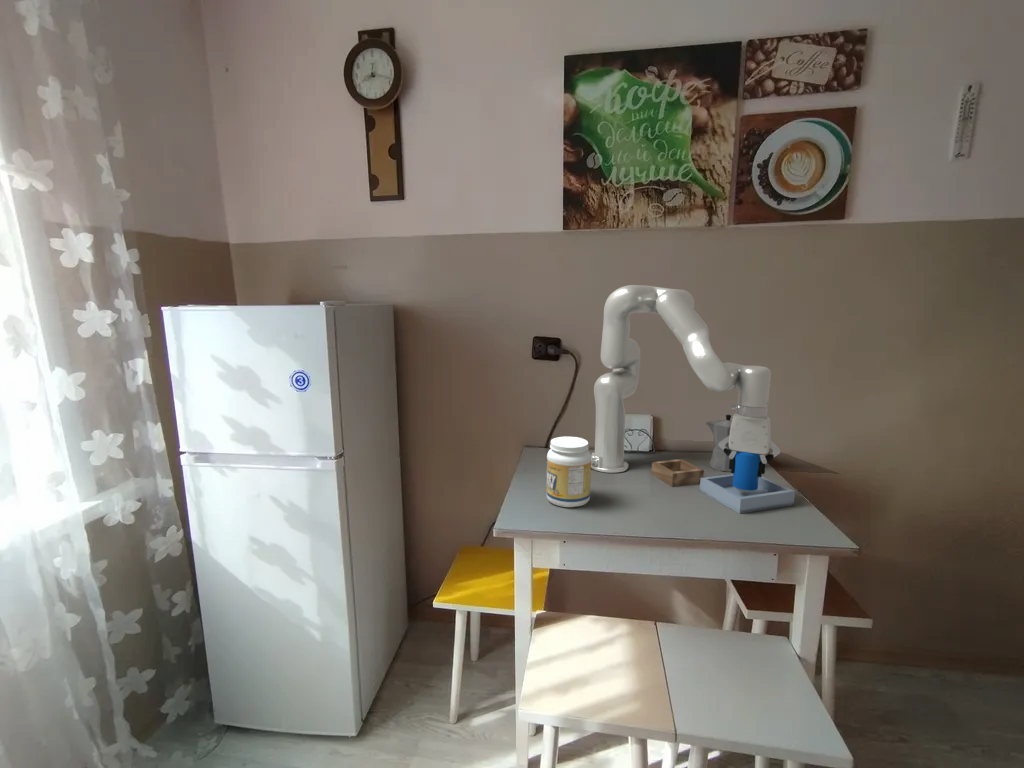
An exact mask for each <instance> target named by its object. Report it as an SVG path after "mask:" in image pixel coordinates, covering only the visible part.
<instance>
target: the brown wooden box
mask: <svg viewBox="0 0 1024 768" xmlns="http://www.w3.org/2000/svg"><path fill="white" fill-rule="evenodd" d="M653 475H654V476H653ZM704 475H705V470H704V469H703V468H701V467H699V466H697V465H694V464H692V463H691V462H688V461H687V460H685V459H683V458H678V459H669V460H662V461H653V462H652V461H651V476H653V477H654V478H657V479H659V480H660V481H662V482H664V483H665V484H666V485H669V486H670V487H679V486H680V485H681V486H686V485H687V486H688V485H695V484H700V479H701V478H704Z"/></svg>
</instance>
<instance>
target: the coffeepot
mask: <svg viewBox="0 0 1024 768" xmlns="http://www.w3.org/2000/svg"><path fill="white" fill-rule="evenodd" d="M731 418H732V415H731V414H726V415H725V419H719V420H718V419H717V420H714V421H712V420H711V421H707V422H706V423H705V424H706V425H707V426H708V427H709V429H710V431H711V433H712V435H713V442H714V443H715V444H714V446H715V447H714V448H713V450H712V455H711V458H710V462H709V466H710V468H711V467H712V468H711V469H712V470H715V469H716V470H715V471H718V470H720V471H719V472H723V471H725V472H726V473H731V469H729V461H730V459H729V457H728V456H727V455H726V454H725V452H724V451H723V450H722V449H721V448H720V446H719V445H718V443H719V442H720V441H722V440H723V439H724V438H726V437H727V436H729V435H730V428H731V423H732V419H731ZM725 445H726V447H727V448H728V449H729V442H728V443H726V444H725ZM729 450H730V451H731V449H729ZM725 472H724V473H725Z"/></svg>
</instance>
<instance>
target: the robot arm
mask: <svg viewBox="0 0 1024 768" xmlns="http://www.w3.org/2000/svg"><path fill="white" fill-rule="evenodd" d="M641 313H642V314H643V313H646V314H654V315H660V317H661V318H662V320H663V322H664V323H665V324H666V326H668V328H669V329H670V331H671V332H672V333H673V334H674V336H675V338H677V340H678V341H679V343H680V344H681V345H682V348H683V353H684V354H685V356H686V359H687V362H688V364H689V365H690V367H691V368H692V370H693V371H694V372H693V373H695V374H696V376H697V377H698V378H699V380H700V381H701V382H702V384H703V385H704V386H705V387H706V388H707V389H708V390H709V391H711V392H713V393H717V394H723V393H727V392H728V391H730V390H734V389H738V392H737V393H738V395H737V403H736V404H735V405H734V404H732V405H731V410H732V411H735V412H736V413H734V414H733V416H732V419H731V420H732V423H731V428H730V435H729V436H727V437H726V438H724V439H723V440H722V441H720V442H719V443H718V445H719V446H720V448H721V449H722V450H723V451H724V452H725V454H726V455H727V456H728V457H729V459H730V461H729V469H731V472H730V474H733V473H734V466H735V454H736V452H748V453H753V454H759V455H760V458H761V459H760V466H759V477H761V476H762V475H765V474H766V473H765V472H766V464H767V463H768V462H770V461H771V460H773V459H774V458H775V457H777V456H779V455H780V454H781V449H780V448H779V447H778V446H777V445H776V444H775V443H774V441H772V440H771V432H772V431H771V428H772V427H771V419H770V417H769V416H768V408H769V399H770V389H771V378H772V377H771V376H772V371H771V369H769V368H768V367H766V366H762V365H743V364H739V363H735V362H729V361H728V362H722V360H721V358H719V356H718V355H717V354H716V352H715V350H714V349H713V347H712V344H711V342H710V330H709V327H708V325H707V323H705V321H704V320H703V318H702V317H701V316H700V314H698V312H697V311H696V310H695V300H694V297H693V295H692V294H691V293H690V292H689V291H687V290H685V289H677V288H669V287H668V288H667V287H660V286H653V285H641V284H640V285H639V284H630V285H629V284H628V285H625V286H621V287H619V288H617V289H615V290H614V291H613V292H611V293H610V294H609V295H608V297H607V298H606V301H605V304H604V307H603V322H602V324H603V325H602V332H601V333H602V334H601V345H600V361H601V363H602V365H603V366H604V367H605V368H607V369H610V370H611V369H612V371H611V372H606V373H604V374H601V375H600V376H599V377H598V378H597V379H596V381H595V383H594V384H593V385H594V386H593V395H594V397H593V398H594V402H595V433H594V434H595V435H594V436H595V437H594V452H591V458H592V459H591V469H592V470H595V471H598V472H600V473H609V474H610V473H611V474H615V473H622V472H625V471H627V470H628V469H629V463H628V462H627V461H625V438H626V437H625V436H626V434H625V433H626V409H625V404H624V399H626V398H630V396H633V395H634V394H635V393H636V391H637V388H638V385H639V379H640V369H641V358H642V357H641V354H642V353H641V347H640V346H639V344H638V342H637V341H636V340H634V339H633V338H631V337H630V334H631V333H630V332H631V321H630V315H632V314H641ZM728 442H729V449H731V451H730V450H729V449H728V448H727V447H726V445H725V444H726V443H728ZM770 449H771V450H772V452H770ZM769 452H770V453H769ZM762 477H763V476H762Z"/></svg>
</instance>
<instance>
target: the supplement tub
mask: <svg viewBox="0 0 1024 768" xmlns="http://www.w3.org/2000/svg"><path fill="white" fill-rule="evenodd" d="M589 447H590V446H589V442H588V440H587V439H584V438H583V437H577V436H559V437H554V438H552V439H551V440H550V445H549V448H550V449H548V452H547V453H546V454H547V455H546V492H545V493H546V494H545V495H546V499H547V500H548V502H550V503H551V504H553V505H555V506H557V507H562V508H576V507H582V506H584V505H586V504H587V503H588V502H589V501H590V498H591V483H592V482H591V481H592V480H591V479H592V478H591V476H592V468H591V459H592V458H591V455H592V453H591V451H589Z"/></svg>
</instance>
